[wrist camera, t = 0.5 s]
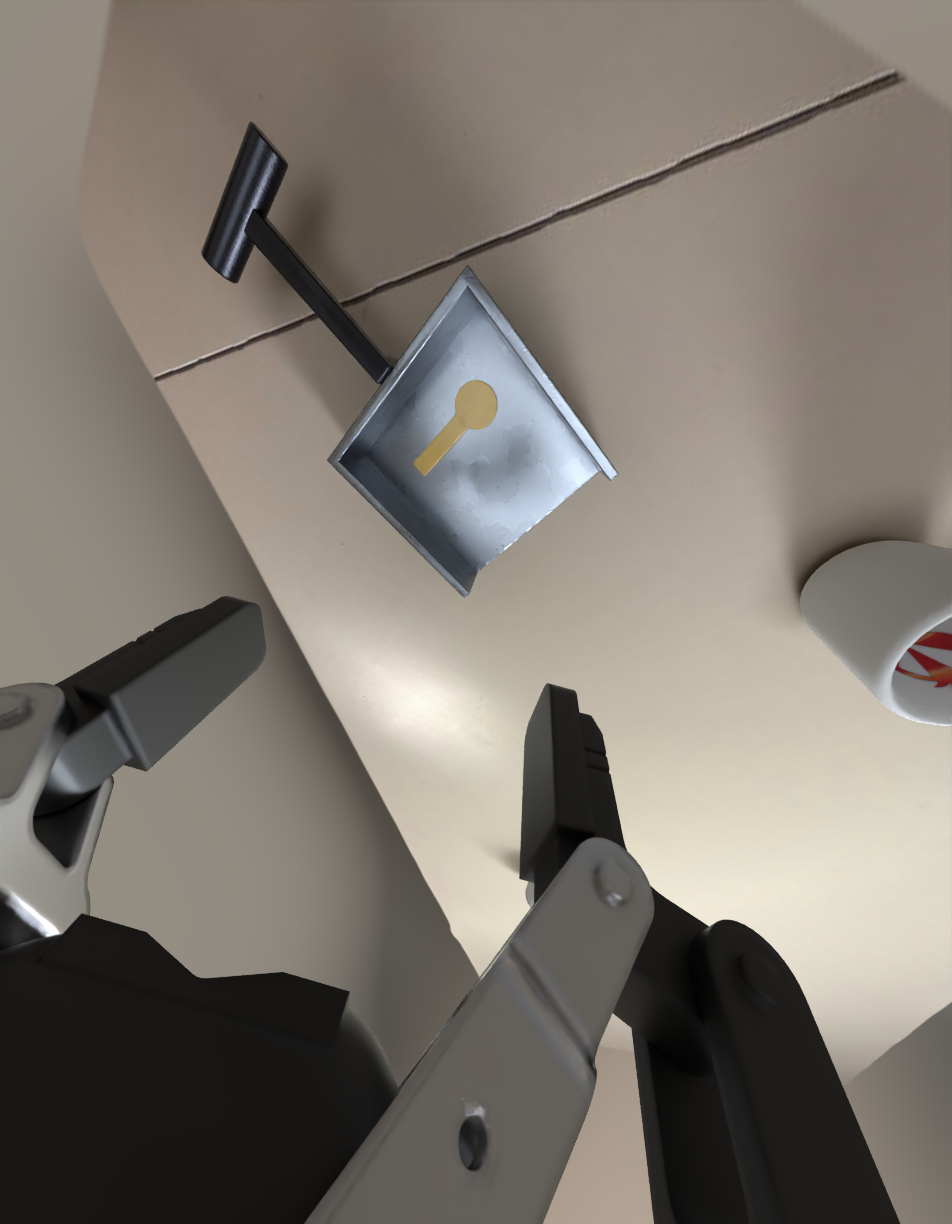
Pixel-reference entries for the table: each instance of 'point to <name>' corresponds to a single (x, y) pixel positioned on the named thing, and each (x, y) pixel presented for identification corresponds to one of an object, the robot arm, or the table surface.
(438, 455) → the yellow spoon
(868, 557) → the cup
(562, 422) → the metal dustpan with handle
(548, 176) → the table surface
